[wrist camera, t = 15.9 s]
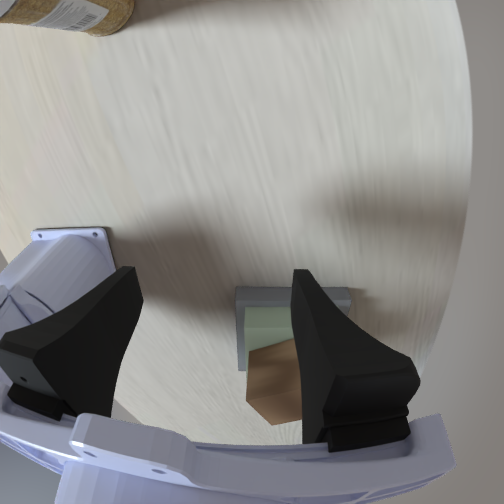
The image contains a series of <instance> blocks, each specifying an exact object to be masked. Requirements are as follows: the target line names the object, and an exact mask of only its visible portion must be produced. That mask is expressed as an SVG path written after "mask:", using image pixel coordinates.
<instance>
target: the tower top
mask: <svg viewBox="0 0 504 504" xmlns="http://www.w3.org/2000/svg"><path fill="white" fill-rule="evenodd" d="M337 307H338V306H337ZM338 308H339V307H338ZM244 336H245V357H246V378H247V374H248V358H249V351H252V350H255V349H259V348H263V347H266V346H270V345H273V344H277V343H280V342H283V341H287V340H290V339H293V338H294V336H293V330H292V324H291V309H290V307H245V322H244Z"/></svg>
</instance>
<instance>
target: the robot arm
mask: <svg viewBox="0 0 504 504" xmlns="http://www.w3.org/2000/svg"><path fill="white" fill-rule="evenodd" d="M95 232H96V233H97V234H98V235H96V234H95ZM31 238H32V242H31V243H30V244H29V245H28V246H27V247H26V248H25V249H24V250H23V251H22V252H21V253H20V254H19V255H18V256H17V257H16V258H14V259H13V260H12V261H11V262H10V263H9V265H8V266H7V267H6V268H5V269H4V270H3V271H2V272H1V273H0V443H4V444H5V445H7V446H8V447H10V448H12V449H14V450H15V451H17V452H19V453H20V454H22V455H24V456H26V457H28V458H29V459H31V460H33V461H35V462H37V463H39V464H40V465H42V466H44V467H46V468H48V469H50V470H52V471H54V472H56V473H58V474H60V475H62V477H61V480H60V484H59V488H58V491H57V495H56V499H55V503H54V504H367V503H371V502H375V501H379V500H383V499H386V498H390V497H394V496H397V495H400V494H403V493H407V492H410V491H413V490H416V489H419V488H422V487H425V486H426V485H428V484H430V483H432V482H433V481H435V480H437V479H438V478H440V477H442V476H443V475H445V474H446V473H448V472H449V471H451V470H453V469H454V468H455V467H456V461H455V457H454V454H453V451H452V447H451V445H450V441H449V438H448V435H447V432H446V429H445V426H444V423H443V420H442V417H441V414H439V413H438V414H434V415H430V416H426V417H422V418H418V419H415V420H413V421H411V422H409V423H408V421H407V417H406V416H408V414H409V410H408V407H407V404H408V403H409V401H410V400H411V399H412V397H413V396H414V395H415V393H416V391H417V390H418V388H419V386H420V378H419V375H418V373H417V370H416V367H415V365H414V364H413V362H412V360H411V358H410V357H408V356H406V355H404V354H401V353H399V352H397V351H395V350H393V349H391V348H390V347H388V346H386V345H384V344H383V343H381V342H379V341H378V340H376V339H375V338H373V337H372V336H370V335H369V334H368V333H366V332H365V331H364V330H362V329H361V328H360V327H358V326H357V325H356V324H355V323H354V322H353V321H351V320H350V319H349V318H348V317H347V316H346V315H345V314H344V313H343V312H342V311H341V310H340V309H339V308H338V307H337V306H336V305H335V304H334V302H333V301H332V300H331V299H330V298H329V297H328V295H327V294H326V293H325V292H324V290H323V289H322V288H321V287H320V285H319V284H318V283H317V281H316V280H315V278H314V277H313V275H312V274H311V273H310V271H309V270H308V269H294V273H293V284H292V294H291V303H290V309H291V324H292V330H293V336H294V341H295V346H296V352H297V357H298V363H299V369H300V380H301V399H302V444H299V445H228V444H213V443H202V442H192V441H190V440H189V439H188V438H187V437H186V436H183V435H181V434H179V433H176V432H174V431H171V430H167V429H162V428H158V427H153V426H147V425H141V424H136V423H131V422H126V421H122V420H117V419H113V418H111V411H112V404H113V398H114V392H115V387H116V382H117V378H118V373H119V370H120V366H121V362H122V359H123V356H124V354H125V351H126V349H127V346H128V344H129V341H130V339H131V337H132V334H133V332H134V329H135V327H136V325H137V322H138V320H139V316H140V313H141V309H142V305H143V297H142V293H141V290H140V286H139V282H138V278H137V274H136V270H135V267H130V266H123V267H121V268H120V269H118V270H117V271H116V268H115V265H114V261H113V258H112V254H111V250H110V246H109V242H108V238H107V234H106V231H105V230H104V229H103V228H69V229H43V230H33V231H32V232H31Z"/></svg>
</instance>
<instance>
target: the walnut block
mask: <svg viewBox="0 0 504 504" xmlns="http://www.w3.org/2000/svg"><path fill="white" fill-rule="evenodd" d="M246 401H247V402H248V403H249V404H250V405H251V406H252V407H253V408H254V409H255V410H256V411H257V412H258V413H259V414H260V415H261V416H262V417H263V418H264V419H265V420H267V421H268V422H269V423H270V424H271V425H277V424H282V423H287V422H292V421H297V420H302V399H301V380H300V369H299V363H298V357H297V352H296V346H295V341H294V338H293V339H290V340H287V341H283V342H280V343H277V344H273V345H270V346H266V347H263V348H259V349H255V350H252V351H249V358H248V374H247V391H246Z"/></svg>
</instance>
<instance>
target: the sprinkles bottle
mask: <svg viewBox="0 0 504 504" xmlns="http://www.w3.org/2000/svg"><path fill="white" fill-rule="evenodd" d="M133 8H134V0H0V23H13V24H21V25H26V26H36V27H45V28H54V29H61V30H68V31H80V32H86V33H88V34H90V35H92V36H97V37H100V36H106V35H109V34H112V33H113V32H115V31H117V30H119V29H120V28H121V27H122V26H123V25H124V24H125V23H126V22H127V20H128V19H129V18H130V16H131V14H132V13H133Z"/></svg>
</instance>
